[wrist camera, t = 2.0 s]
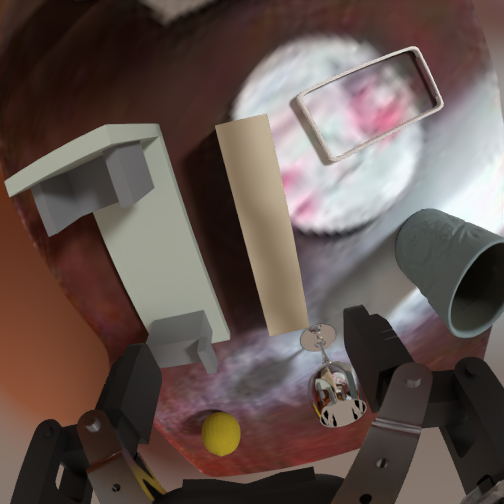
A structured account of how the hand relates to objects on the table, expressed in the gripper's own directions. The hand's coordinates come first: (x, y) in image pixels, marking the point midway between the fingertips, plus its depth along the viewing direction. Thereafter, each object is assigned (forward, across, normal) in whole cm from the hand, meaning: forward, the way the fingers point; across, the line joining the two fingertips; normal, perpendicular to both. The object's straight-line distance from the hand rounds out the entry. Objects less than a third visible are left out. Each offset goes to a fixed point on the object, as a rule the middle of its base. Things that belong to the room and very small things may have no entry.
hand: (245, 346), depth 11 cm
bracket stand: (+19, +9, +2) cm, 21 cm away
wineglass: (+19, -6, +17) cm, 26 cm away
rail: (+19, -2, +1) cm, 19 cm away
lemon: (+19, +9, +29) cm, 36 cm away
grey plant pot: (+19, -21, +7) cm, 29 cm away
